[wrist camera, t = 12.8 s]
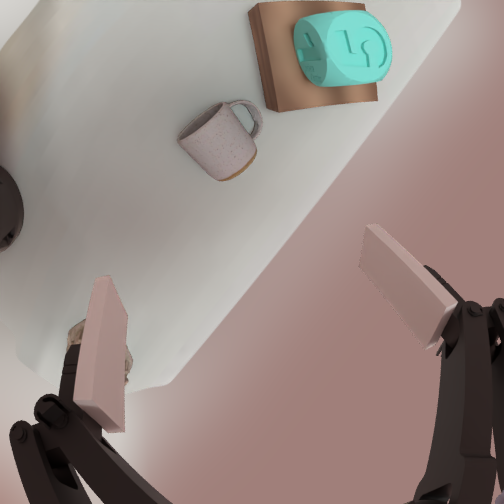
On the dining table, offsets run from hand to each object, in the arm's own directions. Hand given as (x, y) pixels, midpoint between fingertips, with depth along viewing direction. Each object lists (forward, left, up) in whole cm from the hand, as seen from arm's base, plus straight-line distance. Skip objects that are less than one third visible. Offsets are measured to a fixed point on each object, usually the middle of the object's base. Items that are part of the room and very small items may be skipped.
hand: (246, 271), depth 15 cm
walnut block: (+14, +12, -29) cm, 34 cm away
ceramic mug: (+2, +2, -28) cm, 29 cm away
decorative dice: (+14, +13, -23) cm, 30 cm away
